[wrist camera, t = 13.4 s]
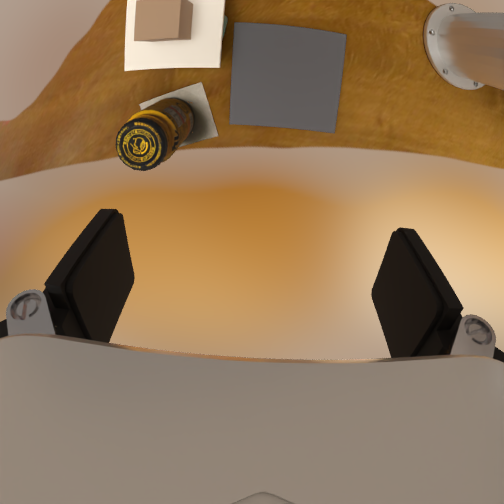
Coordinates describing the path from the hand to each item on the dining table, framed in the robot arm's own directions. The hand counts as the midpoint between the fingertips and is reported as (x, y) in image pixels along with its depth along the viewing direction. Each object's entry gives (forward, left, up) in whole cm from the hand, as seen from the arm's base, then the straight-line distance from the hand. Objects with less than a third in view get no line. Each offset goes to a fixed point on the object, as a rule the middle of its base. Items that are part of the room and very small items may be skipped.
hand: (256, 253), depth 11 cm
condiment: (+10, +2, -31) cm, 32 cm away
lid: (+9, -10, -24) cm, 28 cm away
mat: (-3, -4, -30) cm, 31 cm away
